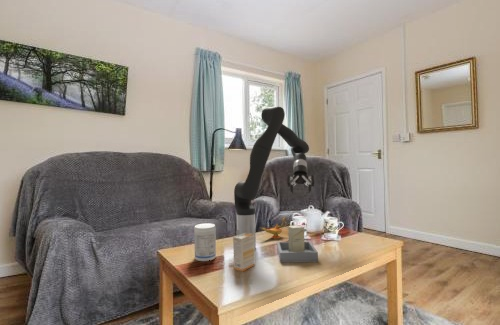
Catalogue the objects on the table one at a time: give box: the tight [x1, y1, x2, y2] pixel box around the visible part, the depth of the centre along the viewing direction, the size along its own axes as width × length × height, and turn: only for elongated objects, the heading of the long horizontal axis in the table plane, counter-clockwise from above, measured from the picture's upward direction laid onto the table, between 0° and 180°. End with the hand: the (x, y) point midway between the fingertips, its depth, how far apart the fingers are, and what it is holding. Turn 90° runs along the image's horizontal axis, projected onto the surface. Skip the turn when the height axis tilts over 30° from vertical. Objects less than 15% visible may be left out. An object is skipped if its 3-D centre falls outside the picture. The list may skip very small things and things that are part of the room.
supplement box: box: [232, 233, 256, 272], centre depth 110 cm, size 8×5×13 cm, turn 141°
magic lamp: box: [258, 216, 287, 239], centre depth 153 cm, size 7×18×11 cm, turn 117°
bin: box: [276, 240, 319, 263], centre depth 122 cm, size 16×16×4 cm
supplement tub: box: [193, 222, 217, 262], centre depth 121 cm, size 10×10×15 cm
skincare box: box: [287, 224, 305, 252], centre depth 123 cm, size 6×4×12 cm
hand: (300, 191), depth 139 cm, fingers open, 8 cm apart
